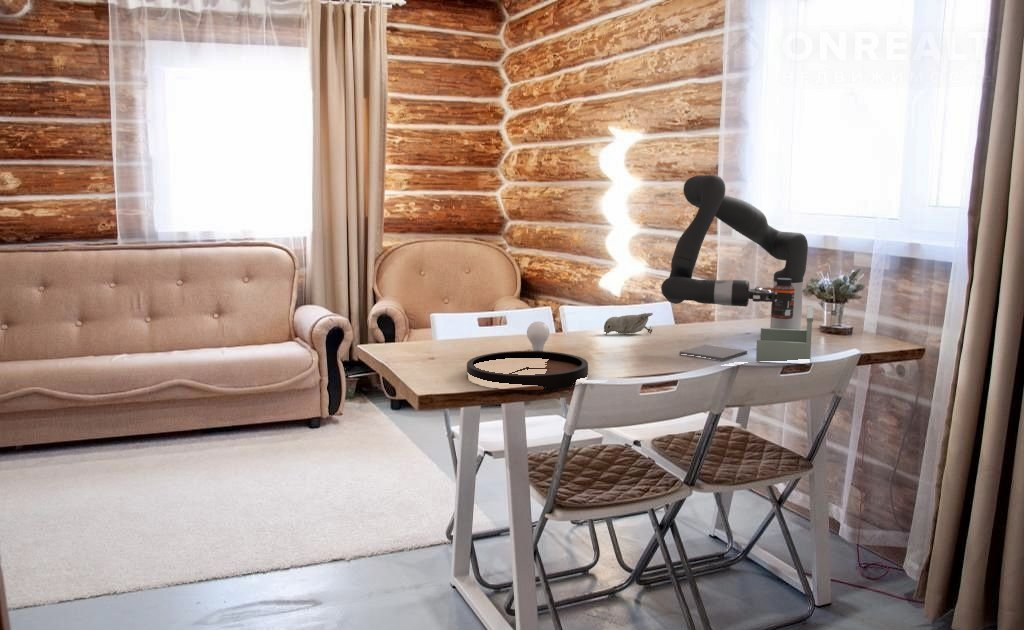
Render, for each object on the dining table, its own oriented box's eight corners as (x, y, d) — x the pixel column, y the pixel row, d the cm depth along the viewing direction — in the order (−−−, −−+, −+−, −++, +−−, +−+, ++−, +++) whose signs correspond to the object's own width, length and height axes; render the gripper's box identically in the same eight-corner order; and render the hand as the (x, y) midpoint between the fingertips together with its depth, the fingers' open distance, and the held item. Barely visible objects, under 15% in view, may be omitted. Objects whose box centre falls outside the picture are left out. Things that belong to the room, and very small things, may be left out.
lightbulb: (544, 356, 247) (543, 319, 245) (552, 361, 241) (552, 322, 239) (523, 358, 245) (523, 320, 243) (532, 363, 239) (531, 324, 237)
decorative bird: (602, 333, 285) (603, 311, 284) (650, 333, 286) (651, 311, 285) (605, 336, 280) (605, 314, 279) (654, 336, 280) (654, 313, 279)
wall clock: (550, 346, 243) (611, 367, 215) (550, 360, 243) (611, 383, 216) (448, 357, 229) (499, 381, 201) (448, 372, 229) (499, 398, 202)
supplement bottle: (793, 320, 241) (796, 280, 239) (771, 319, 242) (774, 279, 240) (791, 316, 247) (794, 277, 245) (770, 315, 248) (772, 276, 246)
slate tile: (679, 354, 249) (679, 351, 249) (704, 347, 259) (704, 344, 259) (723, 361, 239) (723, 357, 239) (747, 353, 249) (747, 350, 249)
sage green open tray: (756, 362, 238) (757, 315, 236) (760, 347, 259) (762, 304, 257) (810, 365, 234) (813, 318, 232) (810, 350, 254) (812, 306, 252)
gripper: (729, 282, 241) (792, 285, 235) (734, 277, 254) (794, 279, 249) (728, 309, 242) (790, 312, 237) (733, 302, 256) (792, 305, 250)
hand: (792, 295), depth 243 cm, fingers closed on supplement bottle, 6 cm apart
